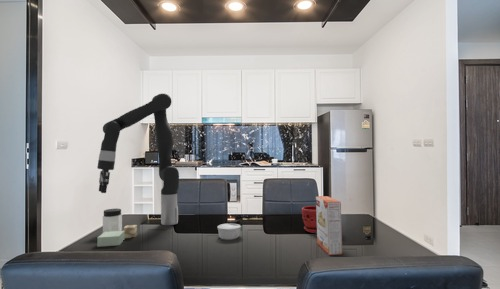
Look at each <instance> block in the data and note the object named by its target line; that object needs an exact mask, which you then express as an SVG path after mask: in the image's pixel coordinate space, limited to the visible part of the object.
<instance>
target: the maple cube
mask: <svg viewBox="0 0 500 289" xmlns="http://www.w3.org/2000/svg"><path fill="white" fill-rule="evenodd" d="M123 231H125V239H132V238H131V237H135V238H136V237H137V235H138V225H137V224H129V225H128V224H127V225H125V226H124V227H123Z"/></svg>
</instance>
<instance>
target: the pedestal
mask: <svg viewBox="0 0 500 289" xmlns="http://www.w3.org/2000/svg"><path fill="white" fill-rule="evenodd" d="M125 239H126V238H125V231H124V230H122V231H111V232H104V233H103V232H102V233H101V234H100V235H99V236H97V239H96V240H97V241H96V242H97V245H96V246H97V247H98V248H99V247H111V246H113V247H114V246H120V245H121V244H122V243H123V242H124V241H125ZM123 240H124V241H123Z"/></svg>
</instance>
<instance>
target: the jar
mask: <svg viewBox="0 0 500 289" xmlns="http://www.w3.org/2000/svg"><path fill="white" fill-rule="evenodd" d="M111 231H123V214H122V209H121V208H109V209H108V208H107V209H104V210H103V216H102V234H103V233H104V232H111Z"/></svg>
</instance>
